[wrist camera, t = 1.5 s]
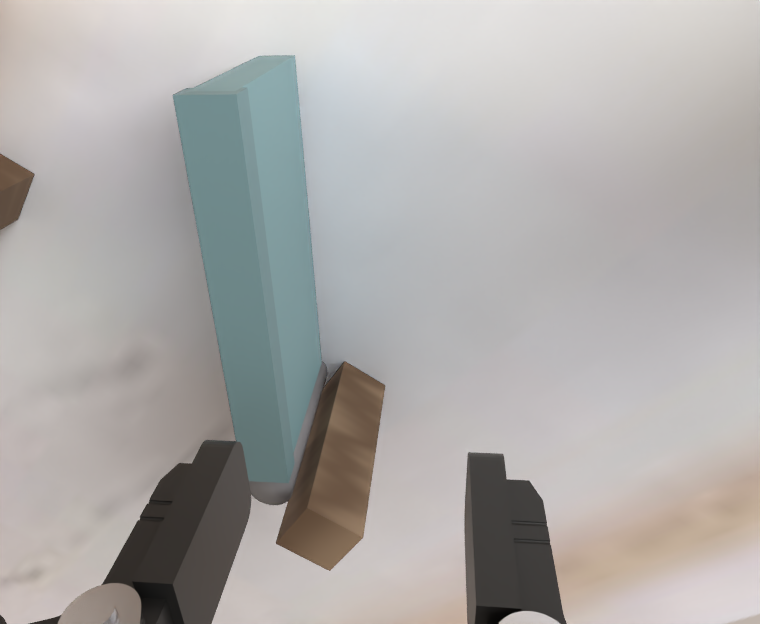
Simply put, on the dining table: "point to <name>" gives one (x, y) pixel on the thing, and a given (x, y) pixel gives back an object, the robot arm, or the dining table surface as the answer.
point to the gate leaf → (257, 259)
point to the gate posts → (324, 447)
